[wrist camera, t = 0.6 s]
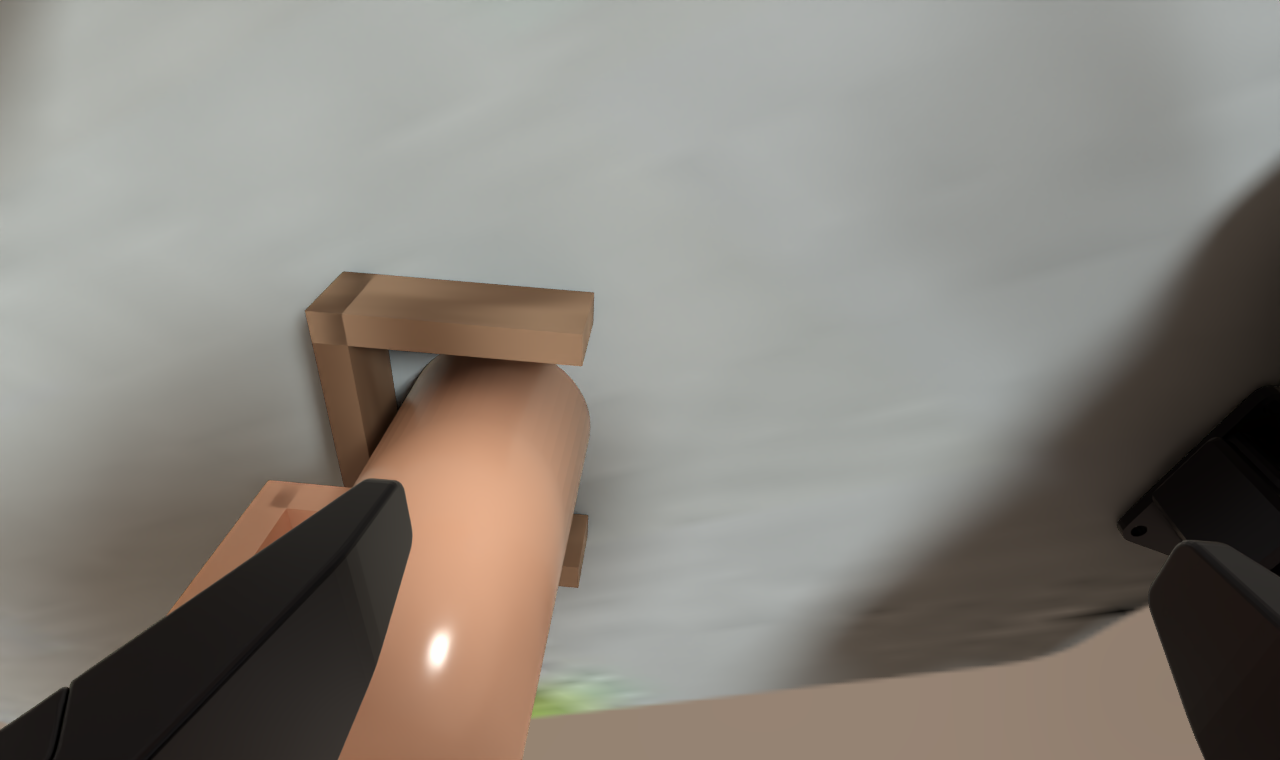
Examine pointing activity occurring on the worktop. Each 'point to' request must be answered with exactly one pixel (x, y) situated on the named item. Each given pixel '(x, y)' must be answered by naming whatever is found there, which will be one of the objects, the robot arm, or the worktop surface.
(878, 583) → the worktop surface
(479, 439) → the jug
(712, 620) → the worktop surface
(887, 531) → the worktop surface
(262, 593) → the robot arm
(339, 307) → the jug cradle
